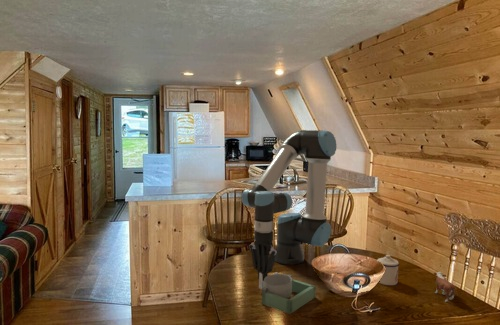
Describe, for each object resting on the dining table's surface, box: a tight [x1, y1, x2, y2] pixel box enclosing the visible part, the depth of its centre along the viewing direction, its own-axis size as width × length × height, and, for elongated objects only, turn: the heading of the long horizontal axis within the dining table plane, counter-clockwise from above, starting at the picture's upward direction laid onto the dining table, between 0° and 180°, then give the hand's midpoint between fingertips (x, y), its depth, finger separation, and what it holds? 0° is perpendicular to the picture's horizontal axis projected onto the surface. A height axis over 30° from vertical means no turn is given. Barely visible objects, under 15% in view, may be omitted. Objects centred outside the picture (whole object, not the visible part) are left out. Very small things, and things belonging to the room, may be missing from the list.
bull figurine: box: [433, 271, 456, 303], centre depth 153 cm, size 4×13×8 cm, turn 176°
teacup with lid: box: [376, 254, 400, 286], centre depth 168 cm, size 12×9×12 cm
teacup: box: [264, 271, 293, 299], centre depth 151 cm, size 14×11×8 cm
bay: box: [261, 274, 316, 315], centre depth 148 cm, size 18×12×6 cm
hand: (262, 287), depth 156 cm, fingers closed
